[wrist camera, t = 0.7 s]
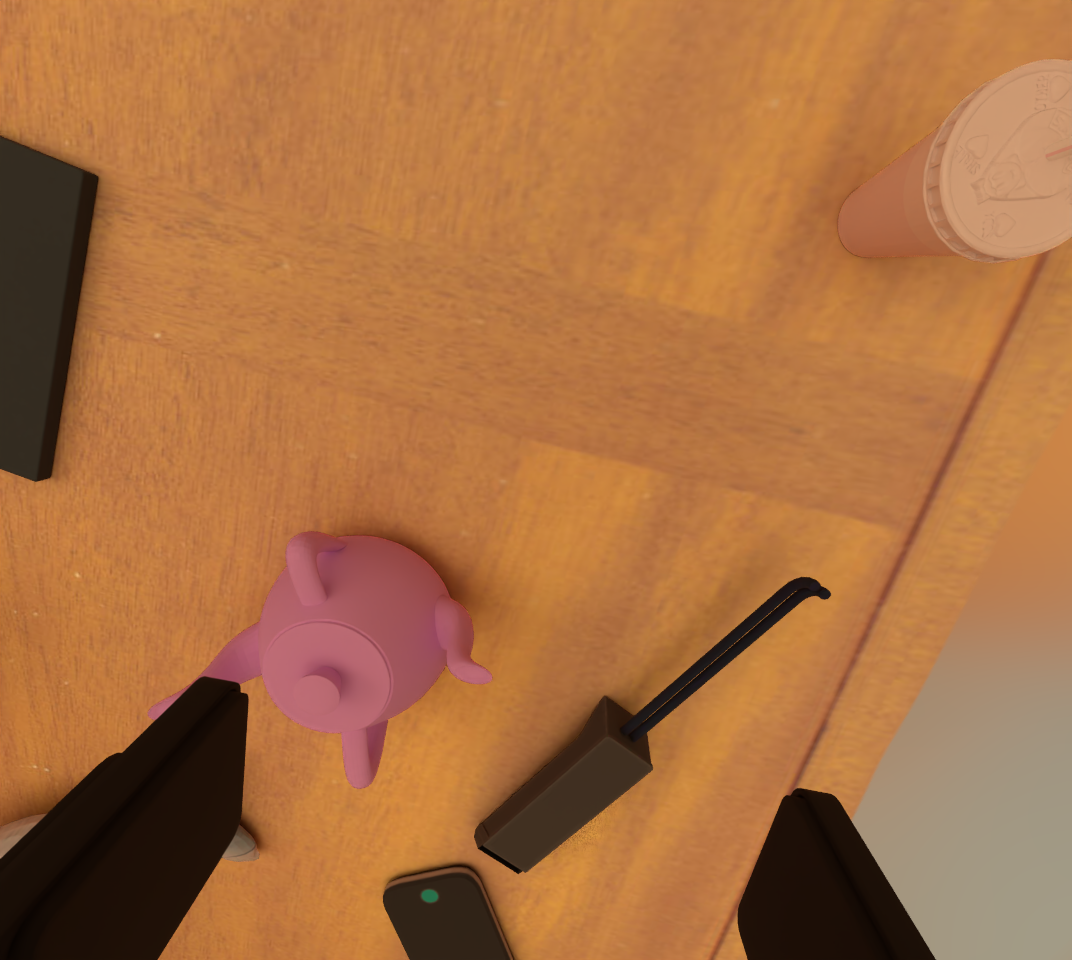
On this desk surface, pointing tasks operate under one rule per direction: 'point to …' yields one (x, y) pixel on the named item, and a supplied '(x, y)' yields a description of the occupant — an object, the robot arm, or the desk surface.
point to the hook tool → (611, 752)
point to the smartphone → (445, 916)
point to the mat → (38, 298)
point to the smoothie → (977, 177)
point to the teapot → (350, 641)
